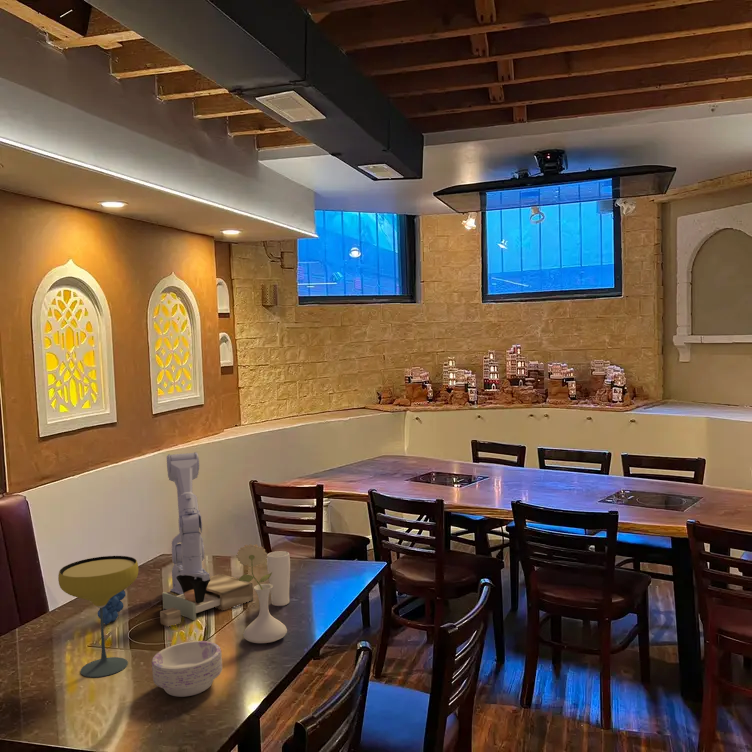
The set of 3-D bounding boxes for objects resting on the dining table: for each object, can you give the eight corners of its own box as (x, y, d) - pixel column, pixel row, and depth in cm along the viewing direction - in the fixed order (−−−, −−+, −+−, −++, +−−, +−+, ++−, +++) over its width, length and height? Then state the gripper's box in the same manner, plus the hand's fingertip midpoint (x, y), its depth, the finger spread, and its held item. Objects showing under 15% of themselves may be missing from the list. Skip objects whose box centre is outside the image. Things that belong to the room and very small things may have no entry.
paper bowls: (141, 689, 164) (139, 655, 163) (200, 667, 174) (199, 634, 174) (175, 711, 153) (173, 674, 153) (236, 686, 163) (234, 651, 163)
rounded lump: (180, 599, 214) (180, 593, 214) (196, 593, 219) (195, 587, 218) (191, 602, 211) (191, 596, 211) (207, 597, 215) (206, 591, 215)
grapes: (111, 613, 214) (109, 573, 214) (132, 614, 212) (129, 574, 212) (86, 628, 203) (84, 586, 203) (107, 629, 201) (105, 587, 201)
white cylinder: (281, 598, 221) (278, 549, 221) (296, 602, 217) (294, 552, 216) (264, 604, 216) (261, 555, 215) (279, 609, 212) (277, 558, 211)
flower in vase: (294, 631, 194) (289, 539, 193) (276, 649, 183) (272, 551, 182) (249, 628, 197) (244, 537, 197) (230, 645, 186) (225, 549, 186)
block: (160, 623, 204) (160, 611, 204) (173, 619, 207) (172, 607, 207) (168, 627, 201) (167, 614, 201) (180, 622, 204) (180, 610, 204)
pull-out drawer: (163, 607, 216) (162, 592, 216) (193, 598, 224) (192, 583, 224) (193, 620, 205) (192, 604, 205) (224, 609, 213) (223, 594, 213)
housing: (191, 599, 224) (191, 582, 223) (221, 589, 232) (220, 573, 231) (223, 610, 212) (222, 593, 212) (253, 600, 220) (252, 583, 220)
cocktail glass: (48, 684, 168) (42, 577, 168) (89, 651, 186) (83, 555, 186) (121, 685, 166) (115, 577, 165) (155, 652, 184) (150, 555, 183)
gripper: (166, 554, 216) (169, 599, 217) (193, 562, 206) (196, 609, 207) (187, 548, 222) (189, 592, 222) (214, 556, 212) (217, 602, 212)
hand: (194, 600), depth 215 cm, fingers closed on rounded lump, 5 cm apart
